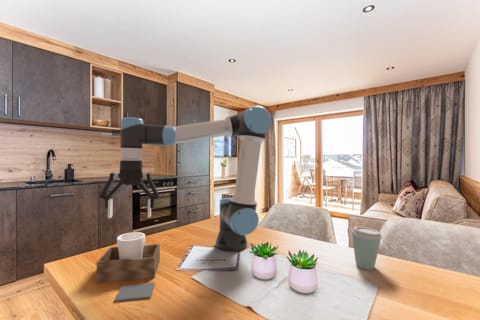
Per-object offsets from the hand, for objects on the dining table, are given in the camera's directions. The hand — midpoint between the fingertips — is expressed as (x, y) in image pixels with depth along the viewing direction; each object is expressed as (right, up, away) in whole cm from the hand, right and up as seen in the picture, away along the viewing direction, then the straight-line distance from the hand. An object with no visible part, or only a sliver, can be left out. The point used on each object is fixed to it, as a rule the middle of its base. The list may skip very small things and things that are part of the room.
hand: (130, 217), depth 88 cm
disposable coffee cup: (+91, -21, +6) cm, 94 cm away
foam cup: (0, -20, 0) cm, 20 cm away
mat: (+8, -21, -13) cm, 26 cm away
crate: (0, -20, 0) cm, 20 cm away
